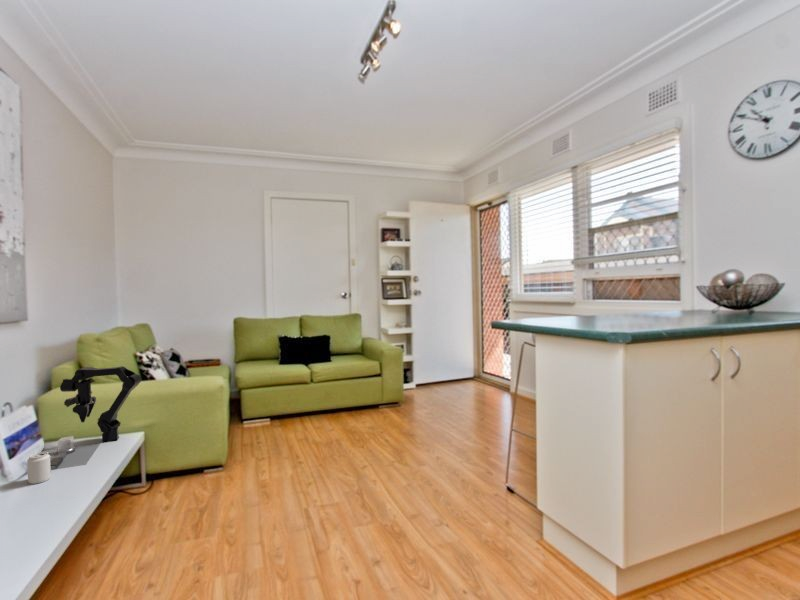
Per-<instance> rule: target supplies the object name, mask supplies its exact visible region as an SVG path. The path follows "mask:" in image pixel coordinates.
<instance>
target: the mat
mask: <svg viewBox="0 0 800 600" xmlns="http://www.w3.org/2000/svg"><path fill="white" fill-rule="evenodd" d="M101 444H102V443H101V442H98V443H92V444H91V443H90V444H84V445H83V444H82V445H74V446H75V451H74V452H73V453H70V454H68V455H67V456H66V457H65V458H64V460H63V462H62V463H61V464H60V465H59V466H58V468H57V469H54V470H59V469H60V470H61V469H68V468H73V467H75V468H76V467H80V466H86V465H87V464H88V462H89V461H90V460H91V458H92V457H93V455H94V453H96V451H97V449H98V448H99V446H100V445H101ZM57 455H58V454H57V450H56V451H55V452H54V453H53V454H52V455H51V456H50V461H51V460H52V458H55V457H56V456H57Z"/></svg>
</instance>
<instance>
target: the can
mask: <svg viewBox="0 0 800 600" xmlns="http://www.w3.org/2000/svg"><path fill="white" fill-rule="evenodd" d="M50 458H51V455H50V454H49V452H48V451H39V452H36V453H32V454H30V455H29V457H28V459H27V461H26V462H27V480H28V484H31V485H34V484H35V485H37V484H42V483H44V482H46V481H48V480H50V479H51V477H52V472H51V471H52V470H51V466H50Z"/></svg>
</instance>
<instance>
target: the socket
mask: <svg viewBox="0 0 800 600" xmlns="http://www.w3.org/2000/svg"><path fill="white" fill-rule="evenodd" d="M74 441H75V440H74V435H70V436H64V437H60V439H58V441H57V449H58V451H62V450H70V449H71V448H72V447H73V446H75V443H74Z"/></svg>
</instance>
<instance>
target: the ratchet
mask: <svg viewBox="0 0 800 600" xmlns="http://www.w3.org/2000/svg"><path fill="white" fill-rule="evenodd" d="M75 446H76V445H74V446H73V447H72V448H71V449H70V450H62V451H58V448H57V449H56V451H57V454H58V455H57V456H56V457H55V458H52V460H51V461H50V466H51V471H52V470H54V469H55V470H58V469H57V468H58V466H59V465H60V464H61V463H62V462H63V460H64V458H65V457H66V456H67V455H68V454H70V453H73V452H74V451H75Z"/></svg>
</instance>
